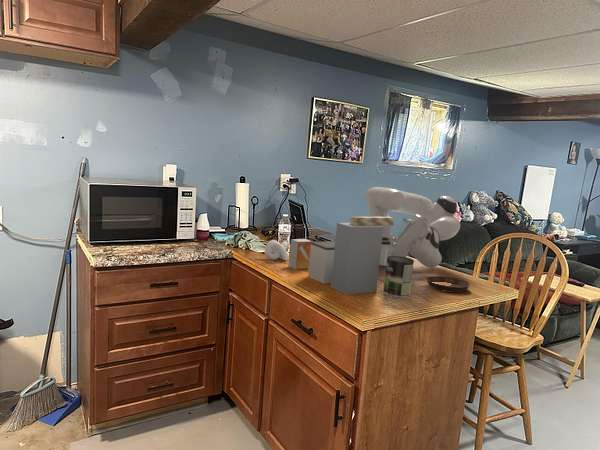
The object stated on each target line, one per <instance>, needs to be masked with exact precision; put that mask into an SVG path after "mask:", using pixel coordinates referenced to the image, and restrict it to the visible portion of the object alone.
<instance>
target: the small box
mask: <svg viewBox="0 0 600 450" xmlns="http://www.w3.org/2000/svg"><path fill="white" fill-rule="evenodd" d="M311 242H313V241H312V240H309V239H306V238H296V239H294V238H293V239H292V238H291V239H290V245H289V246H290V247H289V259H288V267H289V268H291V269H293V270H304V269H308V270H309V261H310V249H311Z"/></svg>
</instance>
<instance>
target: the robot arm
mask: <svg viewBox="0 0 600 450" xmlns="http://www.w3.org/2000/svg"><path fill="white" fill-rule="evenodd" d="M364 200H365V202H366V203H367V205H368V211H369V213H370V214H369V215H370V216H369V217H391V216H390V213H389V212H395V213H400V214H401V213H402V214H406V215H410V216H411V215H412V216H413V217H412V218H411V219H410V218H407V217H405V216H404V217H403V218H402V221H403V222H404V223H405V224H407V225H406V226H405V227H404V228H403V230H402V231H401V232H400V234H398V236H397V237H393V236H392V233H393V225H378V226H382V227H383V235H382V245H381V254H380V263H379V266H381V267H382V266H383V267H386V266H387V257H389V256H401V257H406V258H407V256H409V255H411V256H412V257H414V258H416V260H417V261H418V262H419V264H421V265H423V266H424V267H426V268H429V269H431V268H436V267H437V266H439V265H440V264H441V262H442V260H443V258H442V254H441V253H440V251H439V246H440V242H441V241H446V240H449V239H451V238H454V237H455V236H456V235H457V233H459V231H460V228H461V222H460V220H459V219H458V218H457V217H455V214H457V212H458V210H457V207H458V205H457V201H456V200H455V199H454V198H452V197H451V196H448V195H440V196H439V197H438V198H437V199H436V202H435V203H434V204H433V201H432V200H431V199H429V198H428V197H426V196H424V195H421V194H418V193H417V194H416V193H413V192H407V191H403V190H401V189H400V190H399V189H395V188H390V187H382V186H374V187H370V188H369V189H367V190H366V192H365V195H364Z"/></svg>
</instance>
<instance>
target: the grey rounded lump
mask: <svg viewBox="0 0 600 450" xmlns="http://www.w3.org/2000/svg"><path fill="white" fill-rule="evenodd" d="M288 247H289V243H288V242H287V241H285V240H284V241H282V242H281V243H280V242H278V241H277V240H275V239H273V240H270V241H268V242H267V243H266V245H265V247H264V253H265V256H266V257H267V259H269V260H270V261H276V260H277V259H279V258H280V260H283V261H287V260H288V252H287V248H288Z"/></svg>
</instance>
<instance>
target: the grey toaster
mask: <svg viewBox="0 0 600 450" xmlns="http://www.w3.org/2000/svg"><path fill="white" fill-rule="evenodd" d="M334 250H335V240H333V241H332V240H331V241H329V240H328V241H312V242H311V249H310V261H309V269H308V273H307V274H308V277H309V278H311V279H313V280H315V281H318V282H319V283H321V284H325V285H326V284H331V282H332V272H333V261H334Z"/></svg>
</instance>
